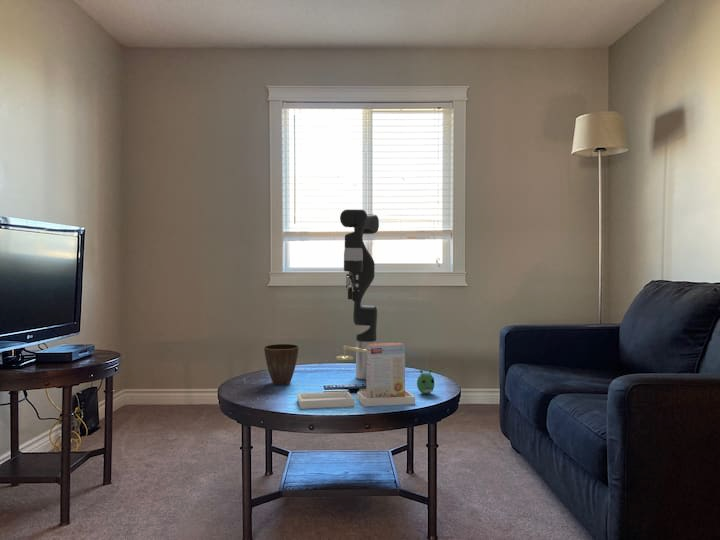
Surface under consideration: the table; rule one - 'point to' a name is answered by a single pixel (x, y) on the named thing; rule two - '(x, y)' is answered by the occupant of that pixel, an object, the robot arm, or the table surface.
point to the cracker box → (385, 370)
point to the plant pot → (281, 362)
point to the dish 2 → (385, 400)
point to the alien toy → (425, 382)
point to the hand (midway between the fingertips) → (352, 300)
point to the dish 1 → (325, 399)
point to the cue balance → (350, 356)
